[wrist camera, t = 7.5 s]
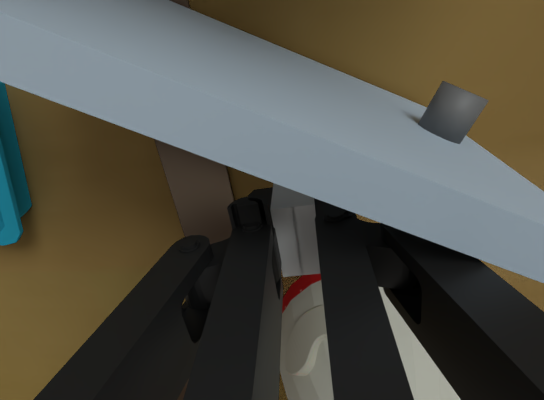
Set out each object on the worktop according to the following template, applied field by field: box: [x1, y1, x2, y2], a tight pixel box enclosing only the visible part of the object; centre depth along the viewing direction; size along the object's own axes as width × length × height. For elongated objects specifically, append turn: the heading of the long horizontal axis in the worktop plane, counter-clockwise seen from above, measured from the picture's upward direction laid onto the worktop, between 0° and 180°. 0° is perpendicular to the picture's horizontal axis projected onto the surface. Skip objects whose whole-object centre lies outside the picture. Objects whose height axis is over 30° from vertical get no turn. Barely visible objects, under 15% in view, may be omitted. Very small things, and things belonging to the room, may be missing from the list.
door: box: [0, 0, 544, 283], centre depth 13 cm, size 15×3×14 cm, turn 69°
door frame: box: [154, 0, 234, 400], centre depth 15 cm, size 22×4×16 cm, turn 9°
